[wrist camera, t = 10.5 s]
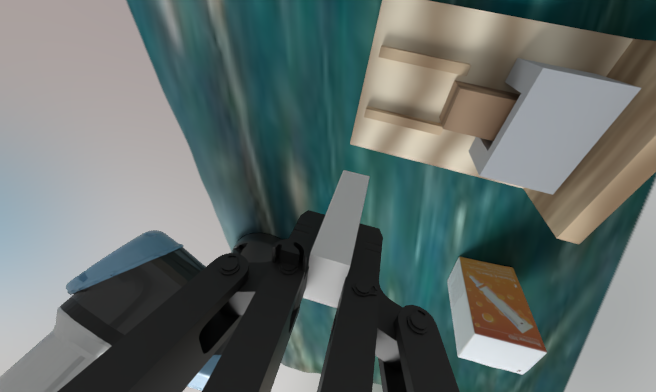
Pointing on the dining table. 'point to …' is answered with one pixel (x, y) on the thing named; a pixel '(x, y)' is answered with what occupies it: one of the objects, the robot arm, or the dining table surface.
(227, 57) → the dining table surface
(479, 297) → the small box
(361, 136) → the jig
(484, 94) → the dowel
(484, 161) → the carriage
